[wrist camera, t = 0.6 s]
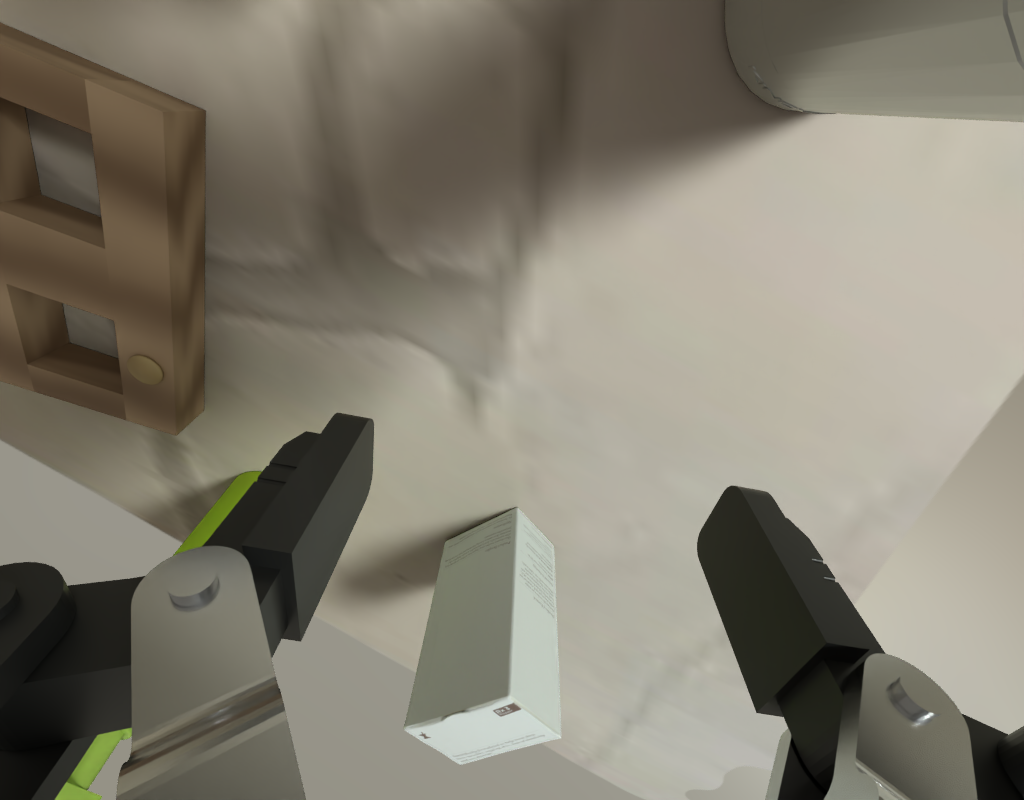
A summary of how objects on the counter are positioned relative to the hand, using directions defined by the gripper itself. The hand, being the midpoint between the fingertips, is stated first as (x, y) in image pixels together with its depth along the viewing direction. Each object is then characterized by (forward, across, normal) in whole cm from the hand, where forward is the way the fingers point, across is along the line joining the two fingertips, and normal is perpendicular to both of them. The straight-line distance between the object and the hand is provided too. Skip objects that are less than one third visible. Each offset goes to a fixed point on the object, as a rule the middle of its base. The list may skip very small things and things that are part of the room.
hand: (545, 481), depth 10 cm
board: (+18, +26, +4) cm, 32 cm away
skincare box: (+20, -2, +24) cm, 31 cm away
